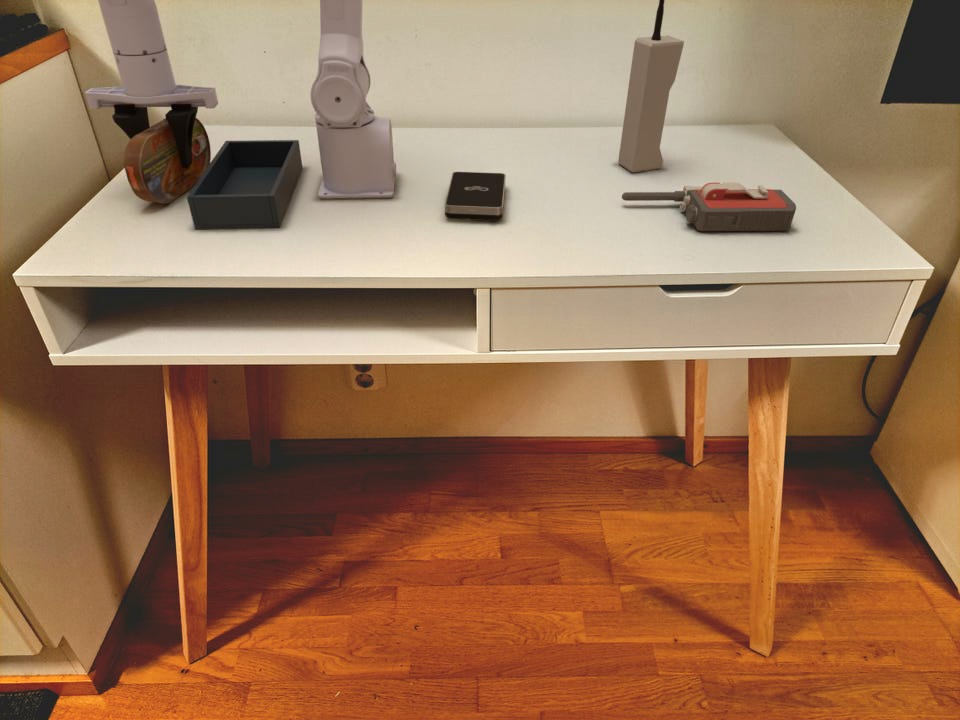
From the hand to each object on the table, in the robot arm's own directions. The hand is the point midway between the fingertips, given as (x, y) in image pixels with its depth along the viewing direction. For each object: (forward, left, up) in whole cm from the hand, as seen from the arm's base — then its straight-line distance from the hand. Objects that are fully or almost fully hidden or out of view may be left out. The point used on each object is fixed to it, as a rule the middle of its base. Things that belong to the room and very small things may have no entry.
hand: (170, 165), depth 86 cm
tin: (0, 0, -3) cm, 3 cm away
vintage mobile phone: (-63, -6, -3) cm, 63 cm away
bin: (-10, +2, -3) cm, 11 cm away
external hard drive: (-39, +6, -3) cm, 39 cm away
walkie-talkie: (-67, +11, -3) cm, 67 cm away
